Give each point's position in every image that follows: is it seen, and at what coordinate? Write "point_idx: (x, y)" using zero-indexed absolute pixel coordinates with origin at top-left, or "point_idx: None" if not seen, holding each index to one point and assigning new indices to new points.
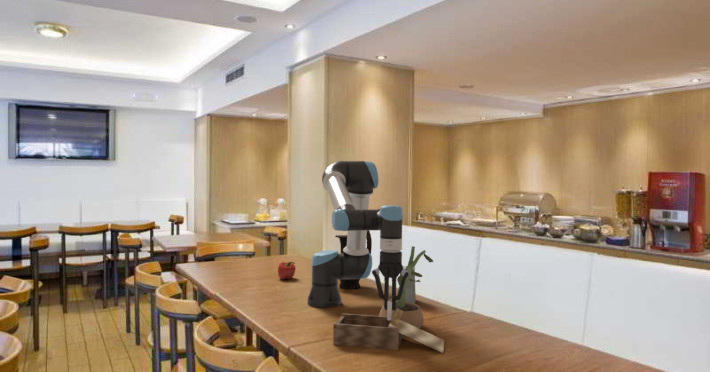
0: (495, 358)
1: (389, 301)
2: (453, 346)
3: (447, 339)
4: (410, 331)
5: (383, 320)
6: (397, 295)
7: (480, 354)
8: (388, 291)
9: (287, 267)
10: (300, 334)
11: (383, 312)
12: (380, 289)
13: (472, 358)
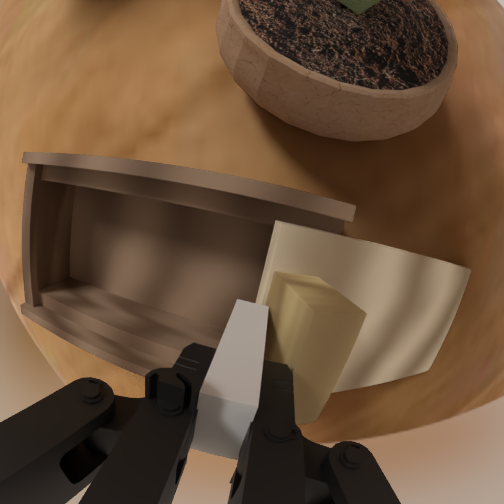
0: (501, 372)
1: (212, 453)
2: (474, 306)
3: (482, 234)
4: (357, 350)
5: (218, 190)
6: (314, 487)
7: (494, 356)
8: (164, 501)
9: None
10: (4, 199)
11: (231, 40)
12: (61, 499)
13: (466, 385)
